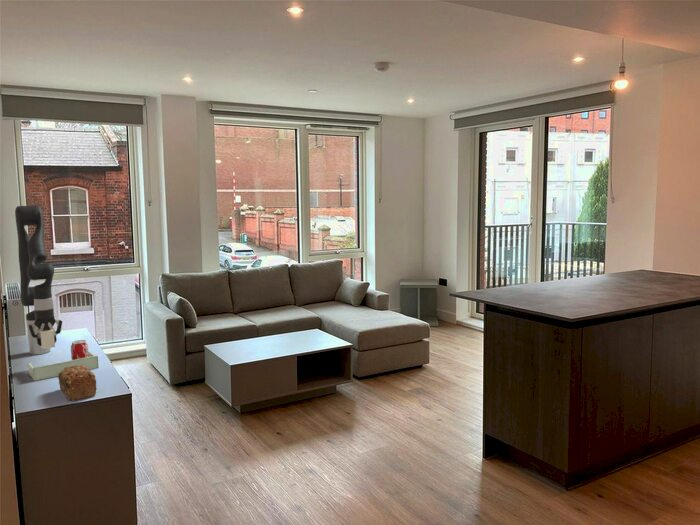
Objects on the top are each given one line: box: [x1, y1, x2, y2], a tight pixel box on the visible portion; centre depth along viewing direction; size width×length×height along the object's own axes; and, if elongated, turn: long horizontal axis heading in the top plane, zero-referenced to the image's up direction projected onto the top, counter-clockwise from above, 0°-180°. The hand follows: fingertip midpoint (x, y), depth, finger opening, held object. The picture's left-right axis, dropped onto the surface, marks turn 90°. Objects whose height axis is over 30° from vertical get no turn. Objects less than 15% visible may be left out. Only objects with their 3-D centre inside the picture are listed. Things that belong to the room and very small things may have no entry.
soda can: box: [70, 339, 89, 360], centre depth 250 cm, size 7×7×12 cm
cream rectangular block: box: [40, 329, 56, 349], centre depth 250 cm, size 6×5×8 cm
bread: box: [57, 365, 98, 401], centre depth 218 cm, size 19×11×10 cm, turn 37°
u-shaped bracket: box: [27, 350, 100, 382], centre depth 246 cm, size 13×26×6 cm, turn 129°
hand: (47, 344), depth 251 cm, fingers closed on cream rectangular block, 5 cm apart
